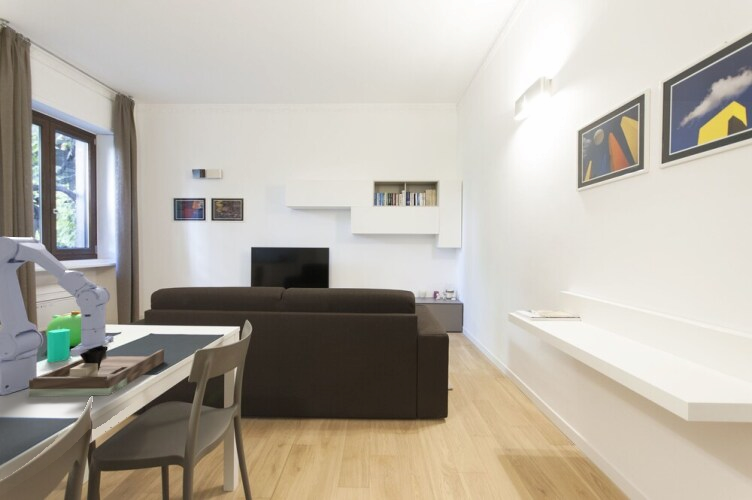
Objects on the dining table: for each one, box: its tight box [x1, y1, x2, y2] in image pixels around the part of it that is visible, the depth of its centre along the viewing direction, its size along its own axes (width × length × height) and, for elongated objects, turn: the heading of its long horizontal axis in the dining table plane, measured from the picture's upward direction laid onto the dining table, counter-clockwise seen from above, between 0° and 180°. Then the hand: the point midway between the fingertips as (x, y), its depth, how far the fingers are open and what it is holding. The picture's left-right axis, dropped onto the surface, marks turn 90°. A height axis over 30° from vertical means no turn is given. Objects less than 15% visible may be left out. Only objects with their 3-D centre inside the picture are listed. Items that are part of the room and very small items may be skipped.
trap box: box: [28, 348, 165, 397], centre depth 110 cm, size 28×21×5 cm
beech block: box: [70, 363, 98, 377], centre depth 101 cm, size 4×4×4 cm
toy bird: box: [45, 310, 81, 348], centre depth 143 cm, size 18×17×15 cm
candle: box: [46, 329, 71, 363], centre depth 126 cm, size 6×6×12 cm
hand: (93, 372), depth 105 cm, fingers closed
